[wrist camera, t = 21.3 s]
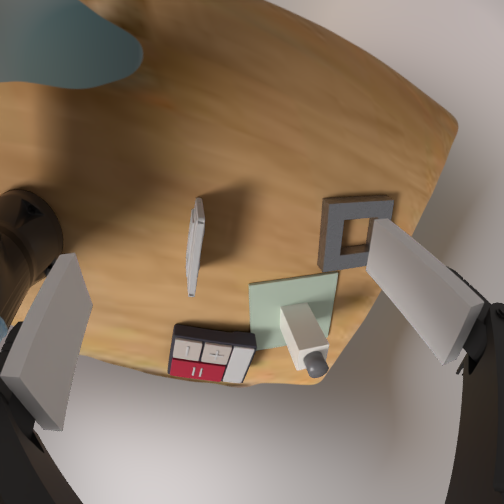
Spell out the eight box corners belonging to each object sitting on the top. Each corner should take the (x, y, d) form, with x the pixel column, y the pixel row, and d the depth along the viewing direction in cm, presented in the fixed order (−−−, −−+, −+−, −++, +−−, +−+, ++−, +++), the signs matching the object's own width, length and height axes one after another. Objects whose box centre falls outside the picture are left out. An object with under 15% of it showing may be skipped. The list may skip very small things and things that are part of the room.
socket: (317, 264, 54) (322, 272, 52) (322, 198, 48) (329, 204, 46) (376, 256, 56) (382, 263, 54) (386, 194, 50) (394, 200, 48)
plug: (279, 327, 59) (302, 384, 47) (280, 306, 56) (305, 364, 44) (304, 322, 59) (331, 377, 47) (307, 302, 57) (336, 357, 45)
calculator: (172, 337, 51) (258, 349, 54) (174, 321, 55) (255, 333, 58) (166, 377, 56) (242, 386, 59) (168, 360, 59) (241, 370, 63)
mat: (250, 349, 61) (251, 351, 61) (248, 283, 53) (249, 285, 53) (326, 335, 64) (327, 337, 63) (336, 271, 56) (338, 272, 55)
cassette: (195, 269, 50) (198, 298, 43) (183, 268, 49) (184, 298, 43) (205, 197, 45) (209, 218, 38) (192, 196, 44) (194, 217, 37)
